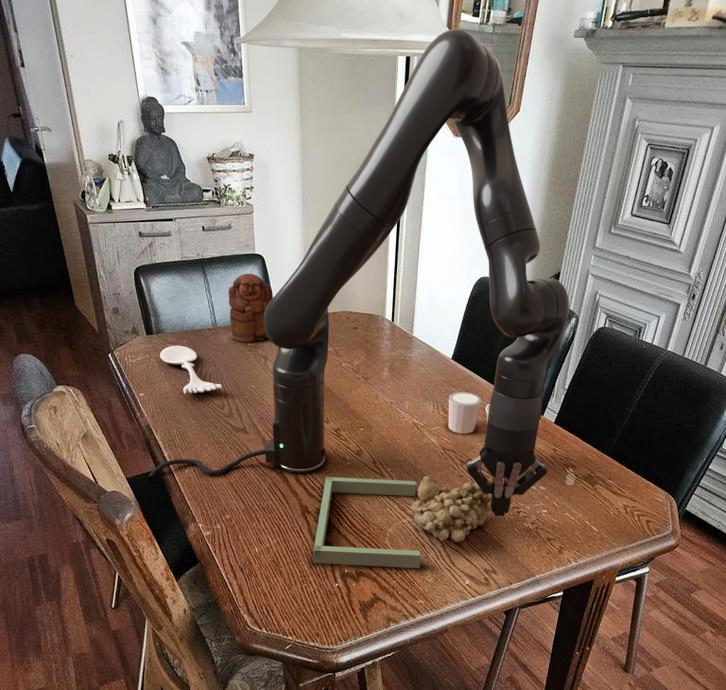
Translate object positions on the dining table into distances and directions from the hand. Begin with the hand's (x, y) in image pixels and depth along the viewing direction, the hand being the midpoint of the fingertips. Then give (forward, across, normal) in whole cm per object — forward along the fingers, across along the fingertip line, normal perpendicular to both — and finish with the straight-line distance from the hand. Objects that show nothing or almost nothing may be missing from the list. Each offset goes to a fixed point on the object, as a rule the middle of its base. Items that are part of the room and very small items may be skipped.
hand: (498, 513), depth 103 cm
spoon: (+2, +68, -60) cm, 90 cm away
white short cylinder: (+4, +2, -38) cm, 38 cm away
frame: (+3, +21, 0) cm, 21 cm away
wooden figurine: (+2, +57, -89) cm, 106 cm away
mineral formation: (+4, +9, 0) cm, 9 cm away
